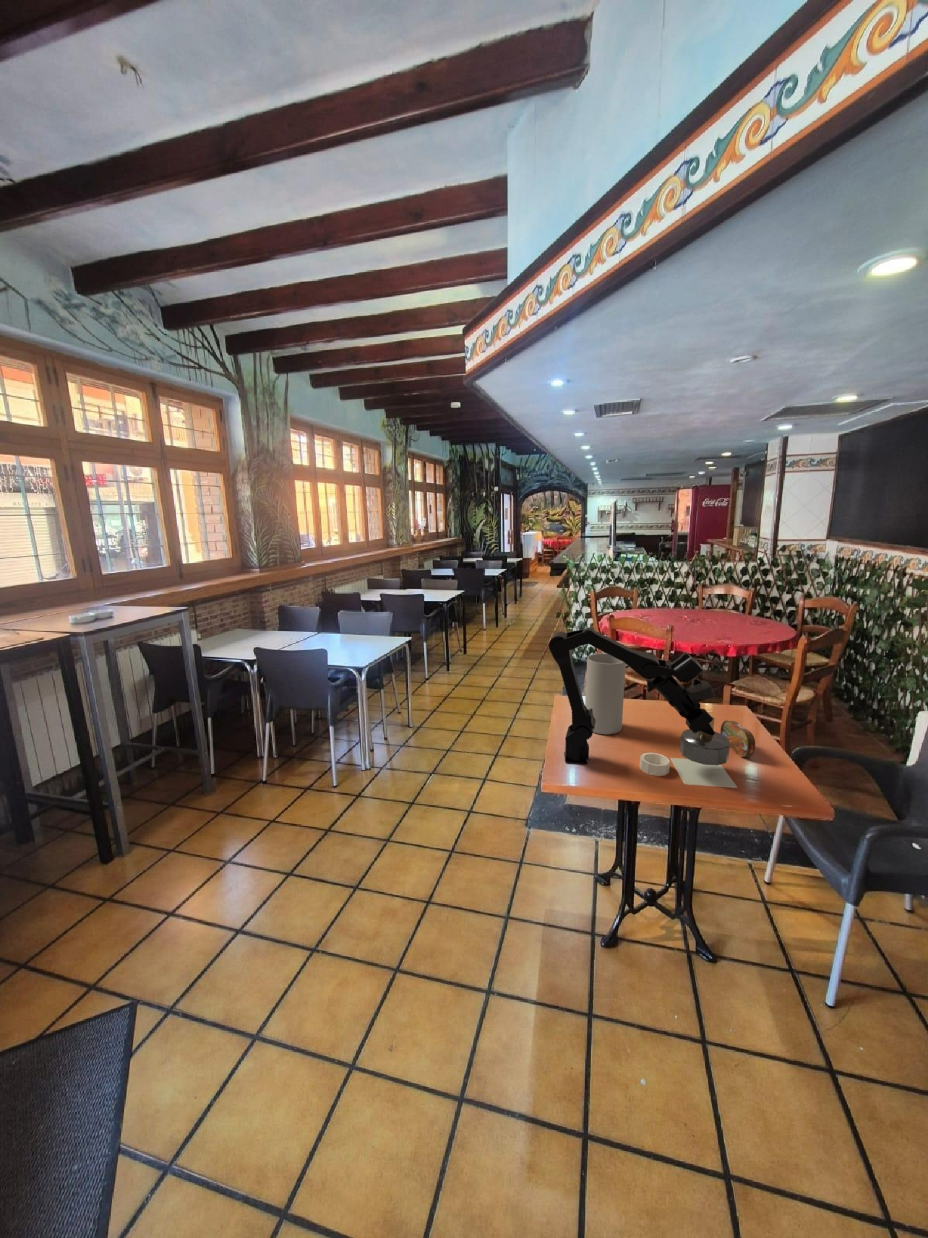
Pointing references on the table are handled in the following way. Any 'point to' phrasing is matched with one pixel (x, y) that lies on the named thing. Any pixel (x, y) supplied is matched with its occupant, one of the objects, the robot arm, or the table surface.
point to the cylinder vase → (605, 692)
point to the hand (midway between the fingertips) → (711, 731)
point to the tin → (738, 738)
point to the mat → (702, 773)
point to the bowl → (654, 764)
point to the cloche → (705, 747)
